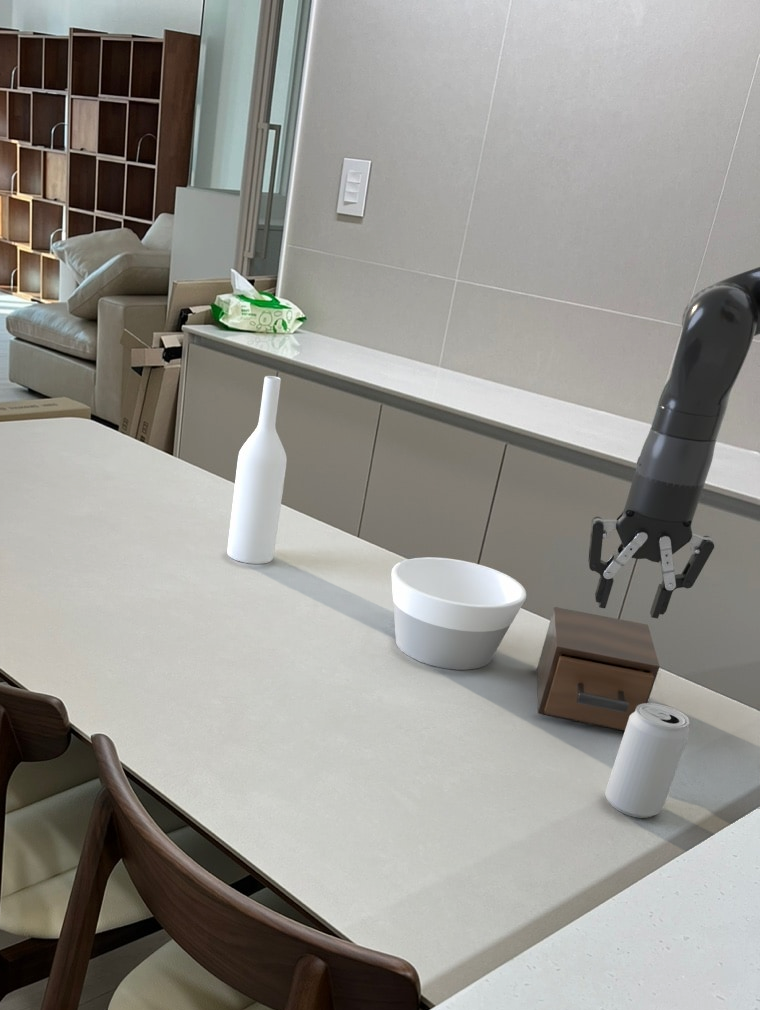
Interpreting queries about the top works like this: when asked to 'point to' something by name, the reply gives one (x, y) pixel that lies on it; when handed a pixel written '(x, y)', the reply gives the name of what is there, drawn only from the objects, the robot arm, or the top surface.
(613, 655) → the cabinet
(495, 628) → the bowl
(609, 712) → the drawer
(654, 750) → the beverage can
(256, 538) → the bottle
